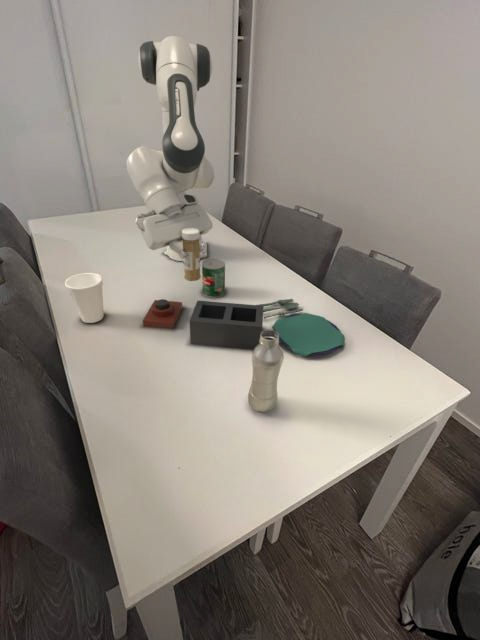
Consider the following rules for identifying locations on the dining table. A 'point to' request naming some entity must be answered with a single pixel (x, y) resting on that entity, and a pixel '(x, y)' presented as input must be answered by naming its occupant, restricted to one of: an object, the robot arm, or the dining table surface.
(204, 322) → the dark grey hollow block
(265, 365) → the plastic bottle
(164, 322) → the button block
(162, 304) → the button
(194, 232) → the sprinkles bottle
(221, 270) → the canned tomato
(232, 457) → the dining table surface
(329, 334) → the cutlery set
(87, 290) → the cup
